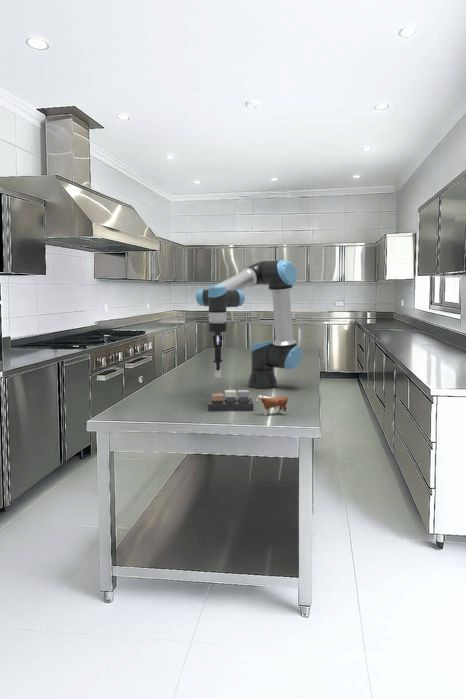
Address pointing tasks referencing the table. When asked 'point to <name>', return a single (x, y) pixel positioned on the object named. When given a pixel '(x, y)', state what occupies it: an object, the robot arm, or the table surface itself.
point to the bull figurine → (272, 403)
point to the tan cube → (217, 397)
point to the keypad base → (230, 405)
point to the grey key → (243, 395)
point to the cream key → (230, 395)
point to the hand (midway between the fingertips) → (218, 377)
